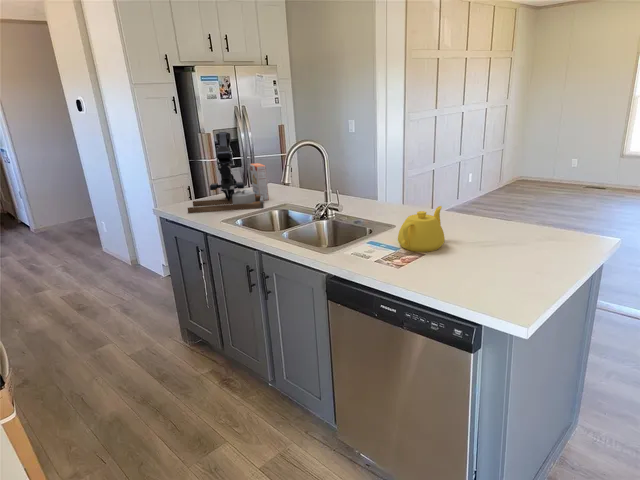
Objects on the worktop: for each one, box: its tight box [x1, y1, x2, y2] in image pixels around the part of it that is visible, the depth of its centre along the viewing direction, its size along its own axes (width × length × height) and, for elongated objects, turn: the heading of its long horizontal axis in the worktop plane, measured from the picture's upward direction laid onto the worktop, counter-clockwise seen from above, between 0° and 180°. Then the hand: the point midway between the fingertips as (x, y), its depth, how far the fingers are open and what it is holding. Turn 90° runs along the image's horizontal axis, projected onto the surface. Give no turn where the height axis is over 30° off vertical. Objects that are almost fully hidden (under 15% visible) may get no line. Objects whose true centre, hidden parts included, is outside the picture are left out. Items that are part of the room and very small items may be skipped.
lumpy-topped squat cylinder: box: [232, 189, 255, 205], centre depth 245 cm, size 10×13×9 cm
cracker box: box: [249, 162, 270, 202], centre depth 259 cm, size 14×6×21 cm, turn 25°
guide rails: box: [187, 195, 265, 214], centre depth 245 cm, size 17×41×4 cm, turn 96°
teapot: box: [397, 205, 446, 253], centre depth 167 cm, size 25×18×14 cm
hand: (228, 200), depth 244 cm, fingers closed
